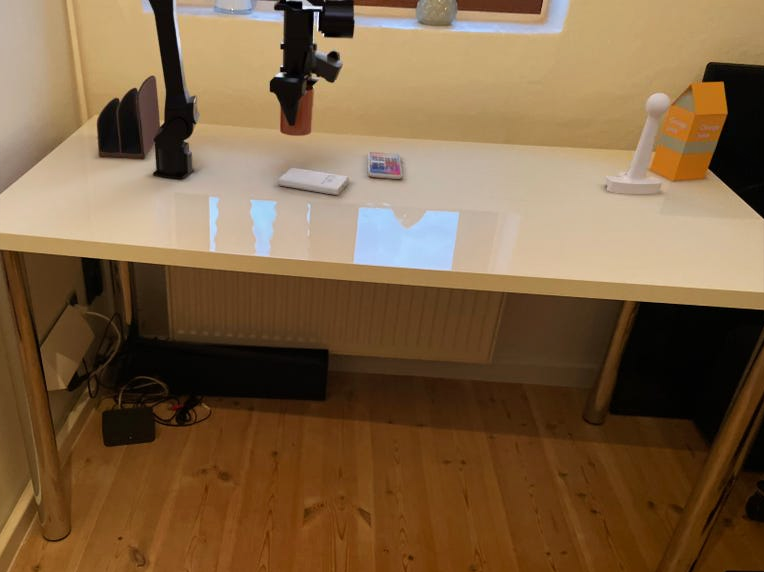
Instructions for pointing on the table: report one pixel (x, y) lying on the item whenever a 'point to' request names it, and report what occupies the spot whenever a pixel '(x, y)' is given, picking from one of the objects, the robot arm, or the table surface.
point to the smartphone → (384, 165)
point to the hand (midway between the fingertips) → (295, 121)
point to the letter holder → (130, 123)
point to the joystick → (642, 154)
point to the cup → (300, 116)
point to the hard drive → (314, 181)
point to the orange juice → (691, 132)
